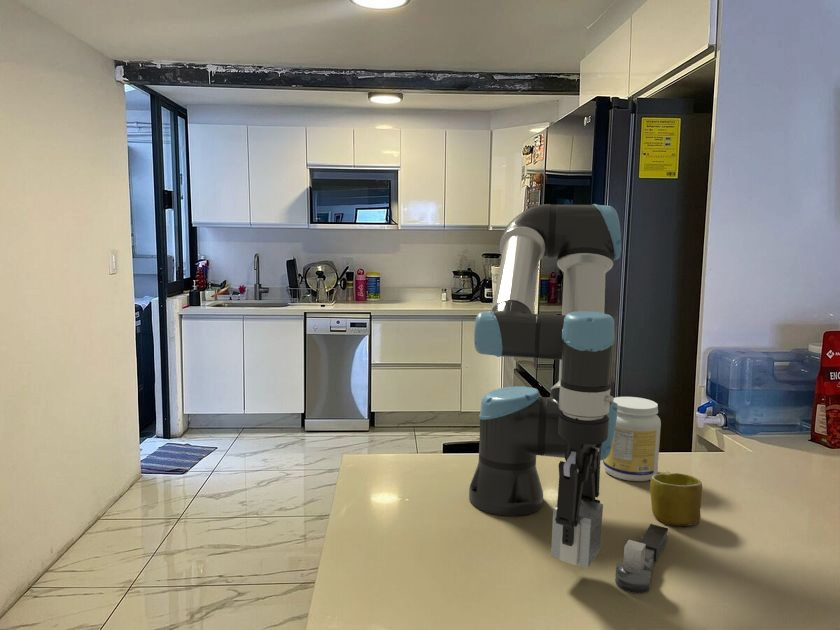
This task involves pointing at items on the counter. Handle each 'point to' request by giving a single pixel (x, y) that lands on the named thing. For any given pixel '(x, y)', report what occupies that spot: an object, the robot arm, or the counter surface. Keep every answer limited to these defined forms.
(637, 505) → the counter surface
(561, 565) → the counter surface
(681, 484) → the mug
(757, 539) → the counter surface
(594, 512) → the grey block
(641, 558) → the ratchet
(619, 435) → the supplement tub
